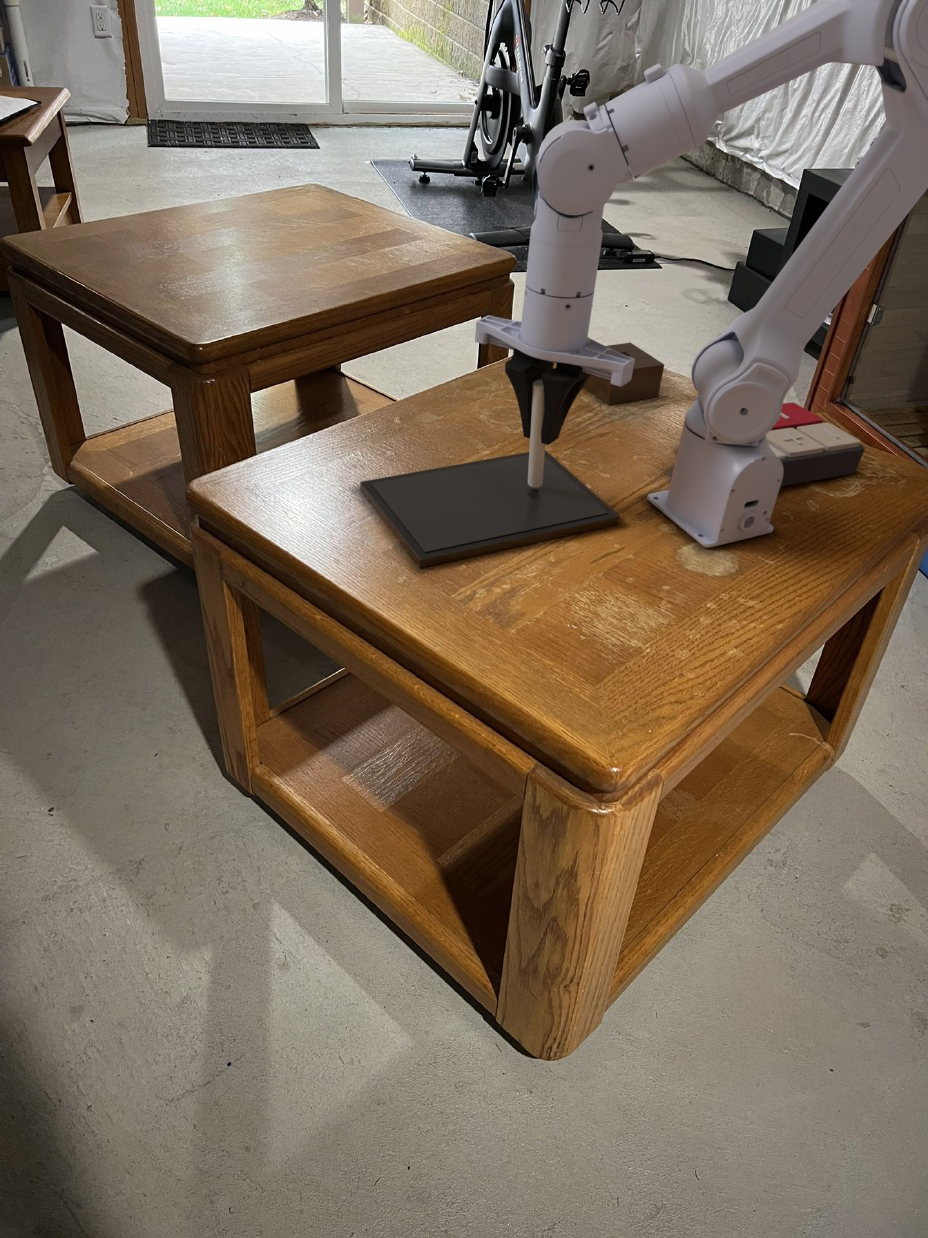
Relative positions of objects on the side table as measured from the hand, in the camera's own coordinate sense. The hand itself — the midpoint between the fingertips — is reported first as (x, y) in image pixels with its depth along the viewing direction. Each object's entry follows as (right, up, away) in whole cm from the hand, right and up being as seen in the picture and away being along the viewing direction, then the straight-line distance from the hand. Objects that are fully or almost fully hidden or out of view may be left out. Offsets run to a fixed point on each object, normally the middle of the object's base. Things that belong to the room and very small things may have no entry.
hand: (541, 437), depth 85 cm
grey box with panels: (+25, 0, +13) cm, 28 cm away
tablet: (-5, -6, +2) cm, 8 cm away
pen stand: (+11, +11, +26) cm, 30 cm away
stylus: (0, -4, +3) cm, 5 cm away
